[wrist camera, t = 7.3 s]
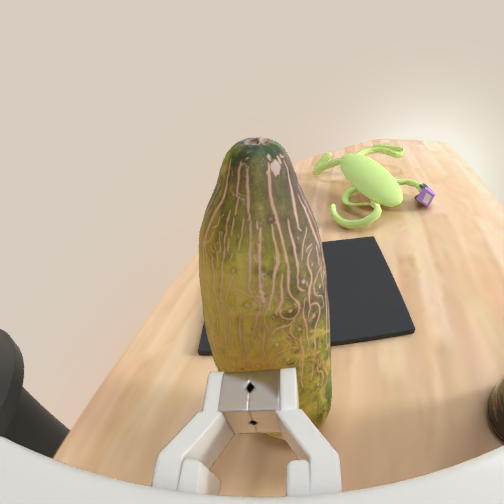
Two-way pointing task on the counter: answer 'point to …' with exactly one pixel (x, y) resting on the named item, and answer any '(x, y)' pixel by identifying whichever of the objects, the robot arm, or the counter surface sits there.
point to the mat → (357, 295)
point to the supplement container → (497, 408)
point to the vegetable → (266, 274)
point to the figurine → (371, 183)
